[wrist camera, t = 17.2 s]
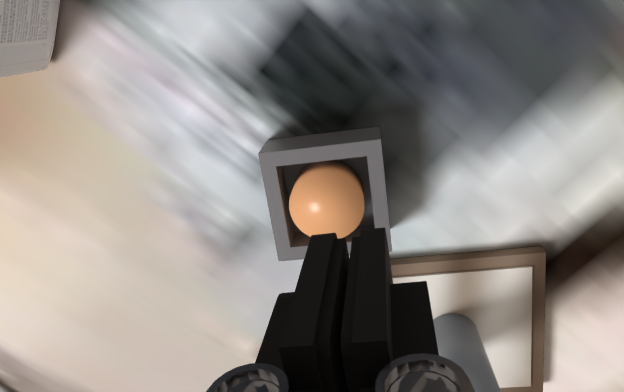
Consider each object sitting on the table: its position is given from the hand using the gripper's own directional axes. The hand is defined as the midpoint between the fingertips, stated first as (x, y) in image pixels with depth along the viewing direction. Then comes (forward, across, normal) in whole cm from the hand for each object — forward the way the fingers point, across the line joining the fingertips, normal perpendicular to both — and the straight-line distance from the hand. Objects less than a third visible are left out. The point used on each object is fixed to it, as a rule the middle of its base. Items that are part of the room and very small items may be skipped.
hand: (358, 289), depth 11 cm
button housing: (+24, +4, +6) cm, 25 cm away
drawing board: (+25, -4, +19) cm, 32 cm away
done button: (+23, +4, +6) cm, 24 cm away
